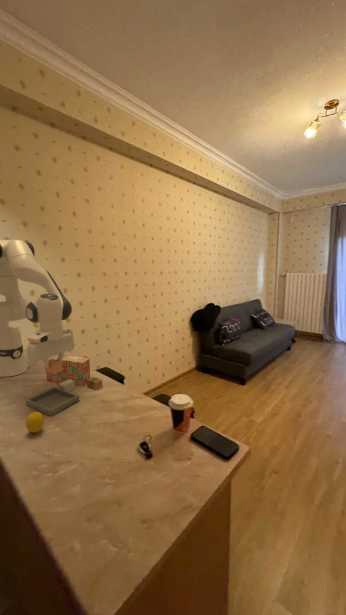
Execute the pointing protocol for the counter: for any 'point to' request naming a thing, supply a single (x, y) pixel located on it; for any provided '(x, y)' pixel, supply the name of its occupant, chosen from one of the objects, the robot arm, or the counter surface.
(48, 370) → the terracotta brick
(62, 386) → the sage brick
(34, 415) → the lemon
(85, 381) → the stack of blocks
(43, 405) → the charcoal tray
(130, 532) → the counter surface
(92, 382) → the walnut brick
